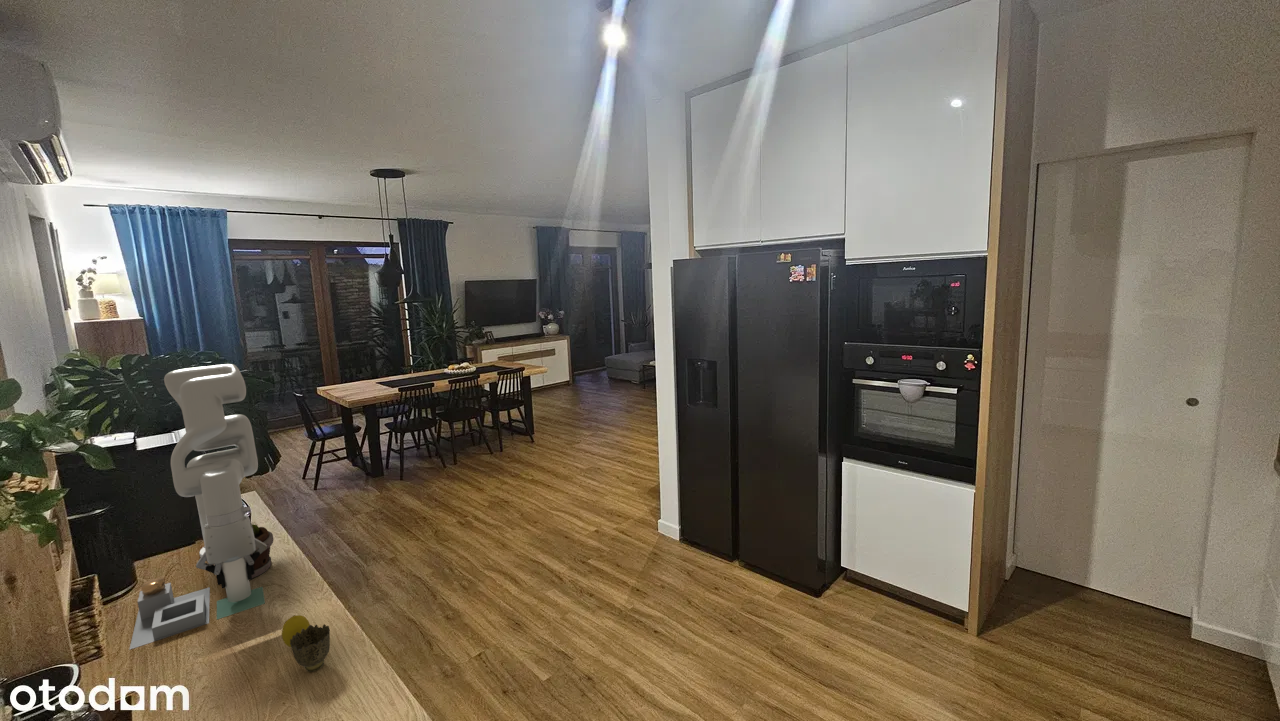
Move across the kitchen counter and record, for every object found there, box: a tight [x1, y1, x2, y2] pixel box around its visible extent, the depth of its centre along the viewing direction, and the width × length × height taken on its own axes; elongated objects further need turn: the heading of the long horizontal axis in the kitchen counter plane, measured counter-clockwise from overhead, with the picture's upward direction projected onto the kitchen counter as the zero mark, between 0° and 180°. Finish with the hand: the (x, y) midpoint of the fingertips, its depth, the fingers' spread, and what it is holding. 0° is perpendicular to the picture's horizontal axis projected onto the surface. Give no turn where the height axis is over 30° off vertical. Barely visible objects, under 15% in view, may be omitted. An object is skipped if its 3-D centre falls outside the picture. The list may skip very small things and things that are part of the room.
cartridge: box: [222, 556, 252, 602], centre depth 140 cm, size 5×5×12 cm
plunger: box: [140, 577, 166, 595], centre depth 138 cm, size 4×4×6 cm
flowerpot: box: [221, 521, 274, 579], centre depth 154 cm, size 14×15×20 cm
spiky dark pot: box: [290, 624, 331, 673], centre depth 117 cm, size 8×7×8 cm
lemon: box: [281, 614, 311, 648], centre depth 124 cm, size 6×6×8 cm
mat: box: [216, 586, 266, 620], centre depth 141 cm, size 10×10×1 cm
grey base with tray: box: [128, 582, 211, 650], centre depth 136 cm, size 20×14×6 cm
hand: (237, 581), depth 140 cm, fingers closed on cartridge, 5 cm apart
